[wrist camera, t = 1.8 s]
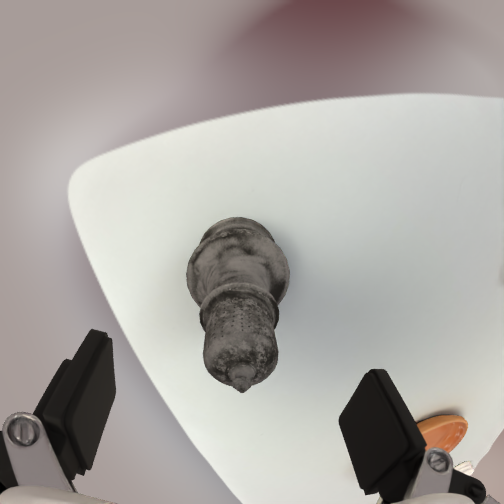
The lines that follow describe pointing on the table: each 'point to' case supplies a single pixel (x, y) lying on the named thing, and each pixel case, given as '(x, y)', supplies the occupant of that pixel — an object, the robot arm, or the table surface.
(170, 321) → the table surface
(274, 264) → the salt shaker
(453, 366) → the table surface
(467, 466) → the coaster
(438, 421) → the saucer
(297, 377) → the table surface
